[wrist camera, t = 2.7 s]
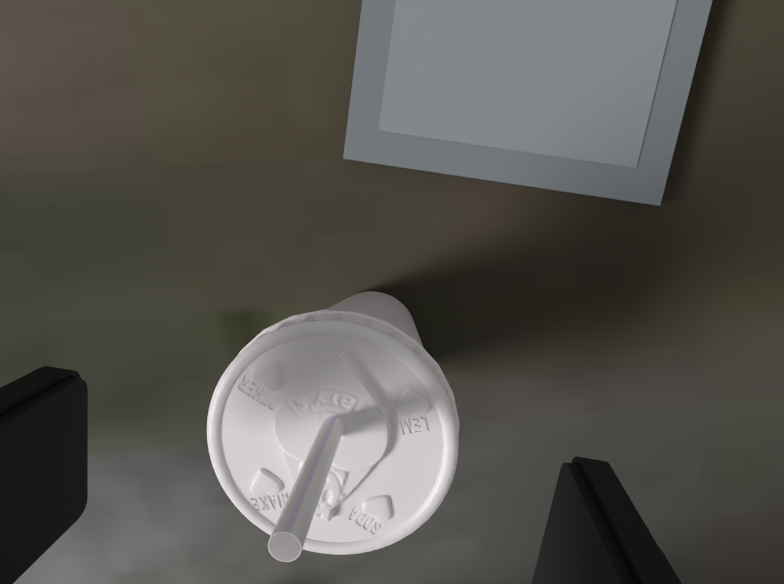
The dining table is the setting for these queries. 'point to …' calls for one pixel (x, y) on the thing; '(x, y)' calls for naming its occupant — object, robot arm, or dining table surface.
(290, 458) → the smoothie
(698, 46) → the plate
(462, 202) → the dining table surface
